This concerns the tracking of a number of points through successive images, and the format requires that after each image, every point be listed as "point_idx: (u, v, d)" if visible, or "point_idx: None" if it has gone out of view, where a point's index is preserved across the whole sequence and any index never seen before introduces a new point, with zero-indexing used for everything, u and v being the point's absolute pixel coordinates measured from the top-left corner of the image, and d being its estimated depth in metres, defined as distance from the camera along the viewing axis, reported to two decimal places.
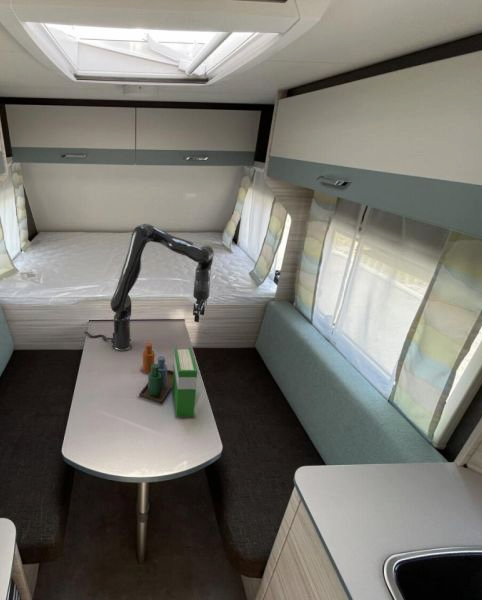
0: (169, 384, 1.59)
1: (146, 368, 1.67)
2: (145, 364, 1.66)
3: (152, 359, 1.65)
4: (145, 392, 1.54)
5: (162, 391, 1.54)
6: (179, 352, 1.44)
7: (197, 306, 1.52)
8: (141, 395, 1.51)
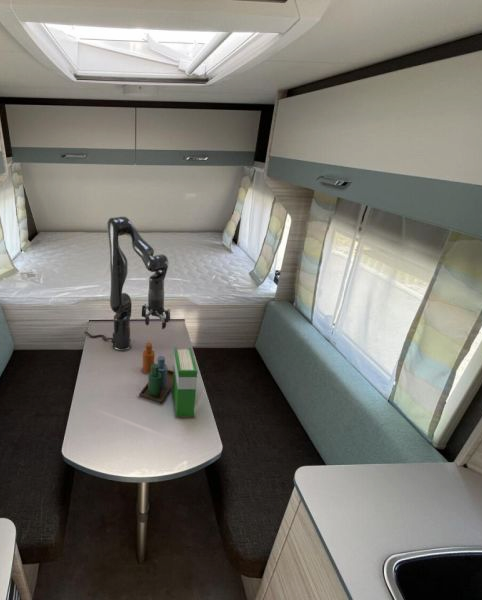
0: (169, 384, 1.59)
1: (146, 368, 1.67)
2: (145, 364, 1.66)
3: (152, 359, 1.65)
4: (145, 392, 1.54)
5: (162, 391, 1.54)
6: (179, 352, 1.44)
7: None
8: (141, 395, 1.51)
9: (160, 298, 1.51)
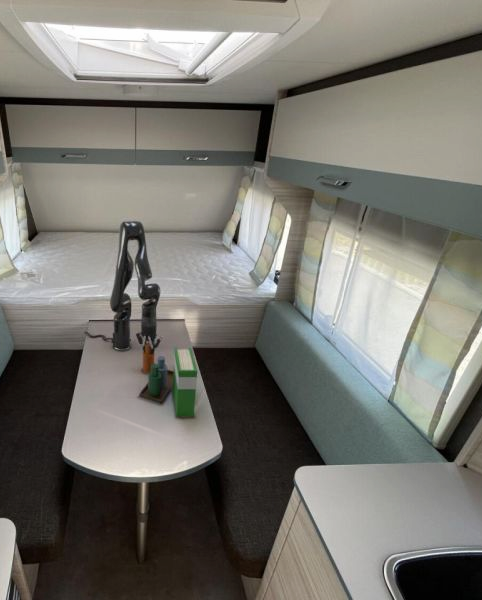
0: (169, 384, 1.59)
1: (146, 368, 1.67)
2: (145, 364, 1.66)
3: (152, 359, 1.65)
4: (145, 392, 1.54)
5: (162, 391, 1.54)
6: (179, 352, 1.44)
7: None
8: (141, 395, 1.51)
9: (152, 325, 1.56)
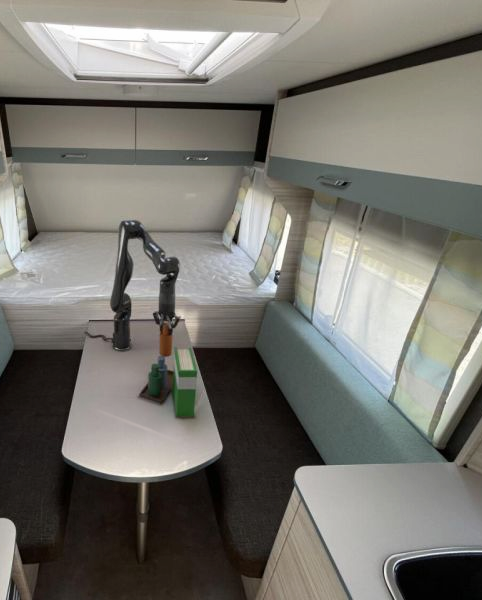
0: (169, 384, 1.59)
1: (164, 351, 1.55)
2: (162, 346, 1.55)
3: (170, 340, 1.54)
4: (145, 392, 1.54)
5: (162, 391, 1.54)
6: (179, 352, 1.44)
7: None
8: (141, 395, 1.51)
9: (171, 302, 1.45)
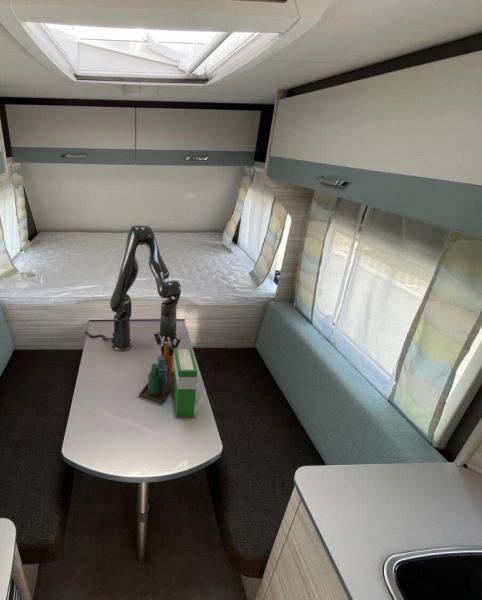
0: (169, 384, 1.59)
1: None
2: None
3: (171, 360, 1.58)
4: (145, 392, 1.54)
5: (162, 391, 1.54)
6: (179, 352, 1.44)
7: None
8: (141, 395, 1.51)
9: (172, 324, 1.49)
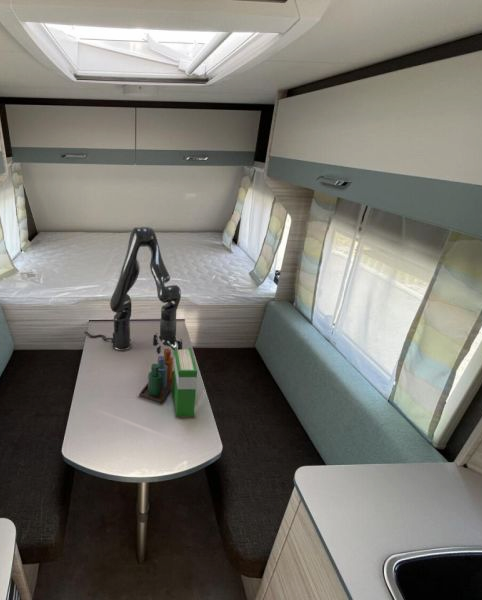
0: (169, 384, 1.59)
1: None
2: None
3: (171, 366, 1.59)
4: (145, 392, 1.54)
5: (162, 391, 1.54)
6: (179, 352, 1.44)
7: None
8: (141, 395, 1.51)
9: (172, 328, 1.49)
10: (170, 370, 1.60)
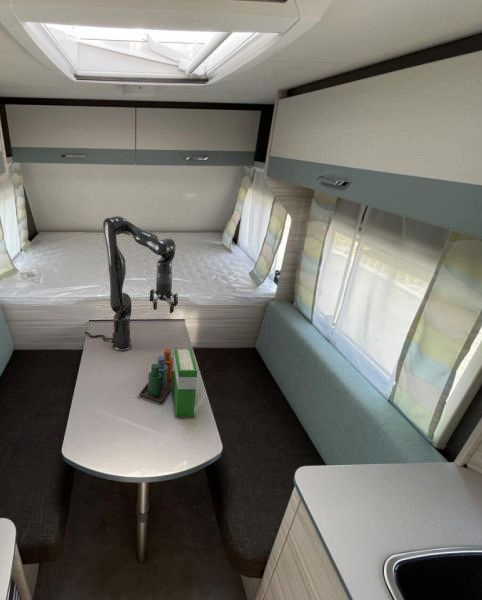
0: (169, 384, 1.59)
1: None
2: None
3: (171, 366, 1.59)
4: (145, 392, 1.54)
5: (162, 391, 1.54)
6: (179, 352, 1.44)
7: None
8: (141, 395, 1.51)
9: (168, 282, 1.53)
10: (170, 370, 1.60)
